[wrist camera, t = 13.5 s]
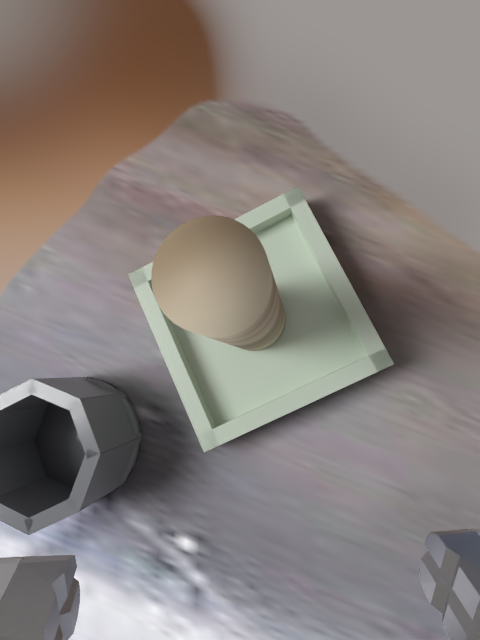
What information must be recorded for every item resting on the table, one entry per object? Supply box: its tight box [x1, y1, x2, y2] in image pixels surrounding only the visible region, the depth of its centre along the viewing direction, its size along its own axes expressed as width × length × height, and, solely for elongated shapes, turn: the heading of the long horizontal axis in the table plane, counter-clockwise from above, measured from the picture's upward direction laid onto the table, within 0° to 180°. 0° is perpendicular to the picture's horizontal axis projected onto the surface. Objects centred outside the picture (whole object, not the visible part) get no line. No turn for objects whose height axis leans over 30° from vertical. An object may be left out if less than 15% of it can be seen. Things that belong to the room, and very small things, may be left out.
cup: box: [0, 377, 142, 535], centre depth 24 cm, size 8×8×6 cm
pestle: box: [151, 216, 286, 351], centre depth 19 cm, size 4×4×12 cm
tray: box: [129, 187, 394, 452], centre depth 25 cm, size 12×12×2 cm
